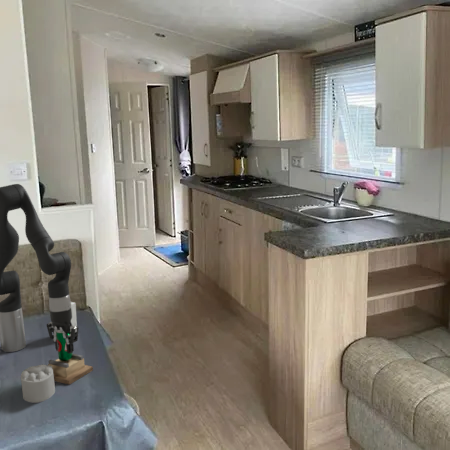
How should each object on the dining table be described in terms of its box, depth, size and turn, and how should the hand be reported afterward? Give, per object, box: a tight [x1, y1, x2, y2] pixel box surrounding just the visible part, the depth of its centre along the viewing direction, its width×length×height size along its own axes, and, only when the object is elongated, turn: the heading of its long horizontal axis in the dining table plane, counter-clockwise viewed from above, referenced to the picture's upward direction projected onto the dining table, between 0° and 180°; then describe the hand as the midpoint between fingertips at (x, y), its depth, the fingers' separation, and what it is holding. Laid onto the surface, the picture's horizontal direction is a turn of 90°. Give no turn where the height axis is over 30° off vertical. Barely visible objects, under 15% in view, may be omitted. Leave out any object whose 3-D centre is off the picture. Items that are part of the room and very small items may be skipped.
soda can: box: [56, 329, 74, 361], centre depth 183 cm, size 5×5×12 cm
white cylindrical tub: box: [20, 363, 56, 404], centre depth 170 cm, size 10×13×9 cm
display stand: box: [47, 353, 94, 386], centre depth 184 cm, size 14×12×6 cm
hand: (64, 351), depth 183 cm, fingers closed on soda can, 5 cm apart
